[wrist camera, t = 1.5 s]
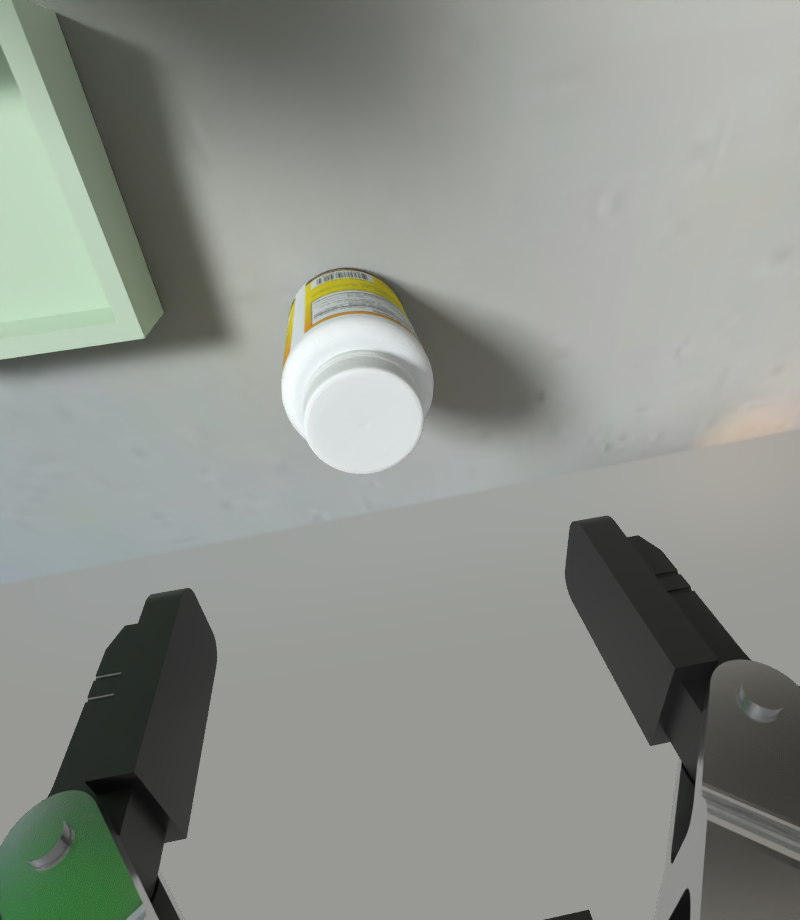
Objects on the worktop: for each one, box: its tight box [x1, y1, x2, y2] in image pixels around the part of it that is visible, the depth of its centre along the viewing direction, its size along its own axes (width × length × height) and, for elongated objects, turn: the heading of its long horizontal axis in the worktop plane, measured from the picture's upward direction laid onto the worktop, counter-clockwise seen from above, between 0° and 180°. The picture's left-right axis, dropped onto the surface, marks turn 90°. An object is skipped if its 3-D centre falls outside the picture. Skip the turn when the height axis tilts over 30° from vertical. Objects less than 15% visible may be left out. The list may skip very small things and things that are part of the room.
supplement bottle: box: [281, 267, 434, 474], centre depth 21 cm, size 6×6×10 cm
